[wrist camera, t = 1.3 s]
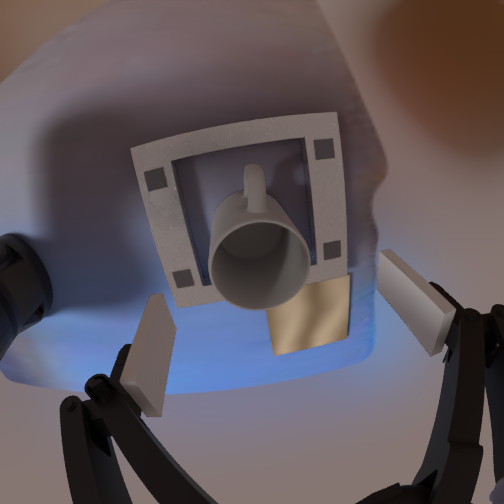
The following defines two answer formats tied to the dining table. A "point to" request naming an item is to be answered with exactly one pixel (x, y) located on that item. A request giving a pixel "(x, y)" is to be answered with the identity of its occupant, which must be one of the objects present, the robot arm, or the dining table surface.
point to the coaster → (311, 316)
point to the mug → (256, 248)
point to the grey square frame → (228, 136)
